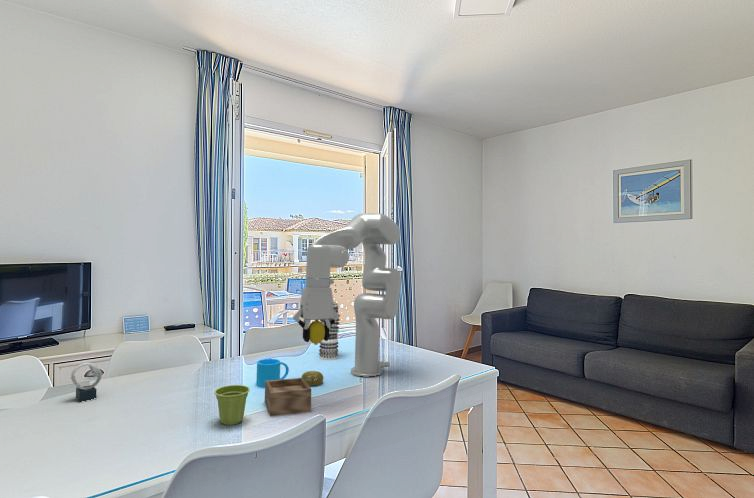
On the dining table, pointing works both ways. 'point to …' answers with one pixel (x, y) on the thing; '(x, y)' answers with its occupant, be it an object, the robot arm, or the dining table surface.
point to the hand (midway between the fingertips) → (315, 340)
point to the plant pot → (231, 403)
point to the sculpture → (313, 378)
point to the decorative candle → (330, 340)
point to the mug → (269, 371)
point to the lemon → (316, 332)
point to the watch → (86, 391)
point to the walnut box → (287, 396)
